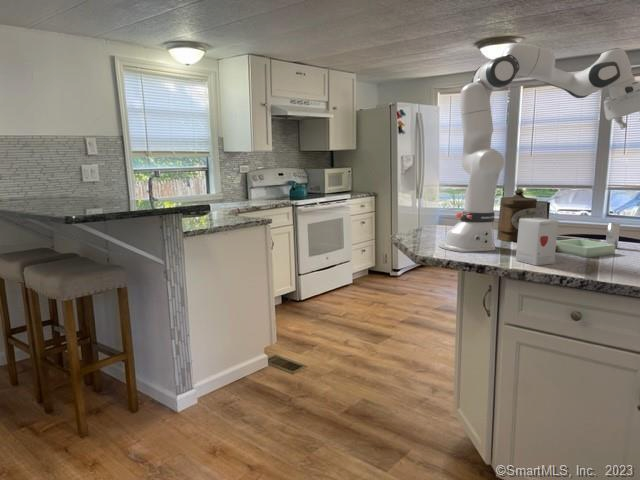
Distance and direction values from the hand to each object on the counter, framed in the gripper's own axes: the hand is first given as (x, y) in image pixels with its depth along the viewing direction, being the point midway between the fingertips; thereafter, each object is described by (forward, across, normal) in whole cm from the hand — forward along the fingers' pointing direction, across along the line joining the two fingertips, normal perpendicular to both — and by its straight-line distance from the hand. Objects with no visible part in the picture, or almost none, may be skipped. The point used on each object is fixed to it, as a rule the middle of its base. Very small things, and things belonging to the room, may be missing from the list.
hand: (633, 125), depth 180 cm
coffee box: (+35, -37, -29) cm, 59 cm away
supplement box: (+32, +11, -63) cm, 72 cm away
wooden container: (+32, -31, -43) cm, 62 cm away
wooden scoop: (+34, -4, -48) cm, 59 cm away
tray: (+39, -2, -36) cm, 53 cm away
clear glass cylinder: (+44, -8, -18) cm, 48 cm away
